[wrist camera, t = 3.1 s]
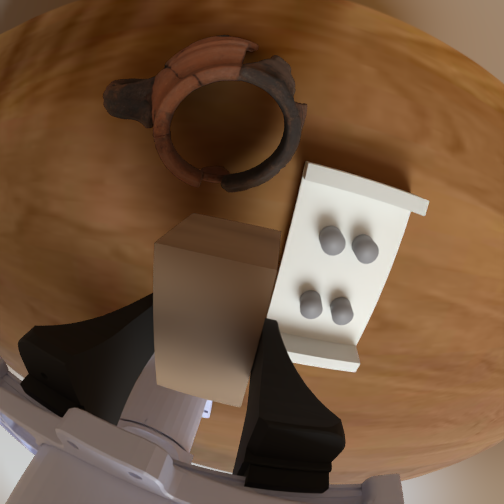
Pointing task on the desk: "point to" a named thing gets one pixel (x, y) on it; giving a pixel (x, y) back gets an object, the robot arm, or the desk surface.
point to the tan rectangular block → (211, 304)
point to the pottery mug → (195, 76)
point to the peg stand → (337, 263)
